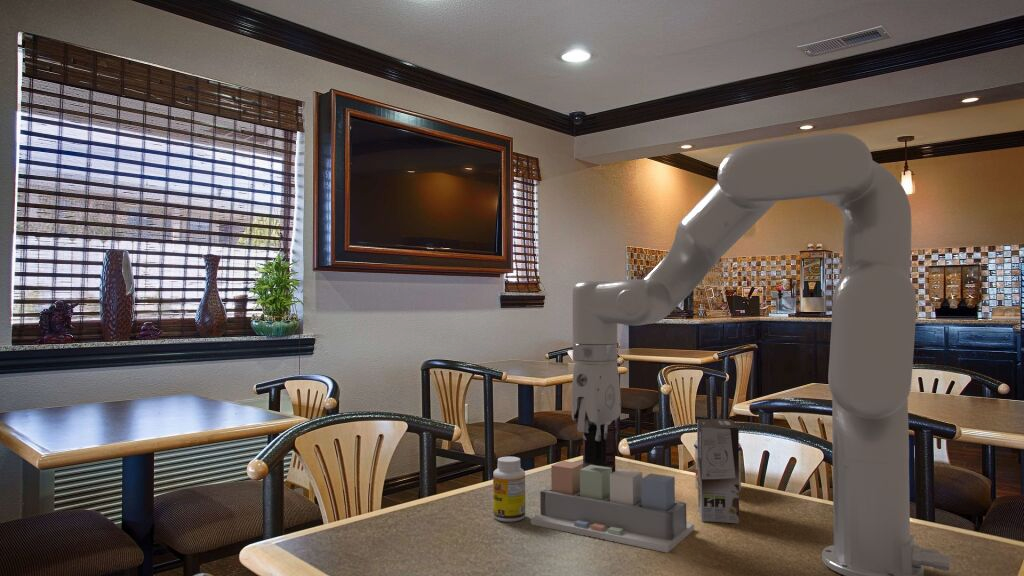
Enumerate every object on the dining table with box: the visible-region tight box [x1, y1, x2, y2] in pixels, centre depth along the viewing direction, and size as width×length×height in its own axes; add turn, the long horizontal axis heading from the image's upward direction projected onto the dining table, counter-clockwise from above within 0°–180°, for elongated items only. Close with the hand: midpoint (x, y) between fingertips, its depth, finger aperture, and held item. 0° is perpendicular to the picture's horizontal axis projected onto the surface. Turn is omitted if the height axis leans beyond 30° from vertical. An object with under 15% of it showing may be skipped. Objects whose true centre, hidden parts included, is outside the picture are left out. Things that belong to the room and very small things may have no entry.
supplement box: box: [582, 420, 616, 473], centre depth 138 cm, size 9×5×16 cm, turn 9°
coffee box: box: [696, 418, 740, 524], centre depth 119 cm, size 9×6×16 cm
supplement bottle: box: [492, 456, 526, 523], centre depth 118 cm, size 6×6×10 cm
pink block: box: [550, 460, 583, 495], centre depth 117 cm, size 4×4×5 cm
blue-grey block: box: [641, 473, 676, 511], centre depth 108 cm, size 4×4×5 cm
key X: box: [610, 468, 643, 505], centre depth 111 cm, size 4×4×5 cm
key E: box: [580, 465, 612, 500], centre depth 114 cm, size 4×4×5 cm
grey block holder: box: [530, 485, 695, 554], centre depth 113 cm, size 24×12×5 cm, turn 57°
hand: (595, 462), depth 115 cm, fingers closed
